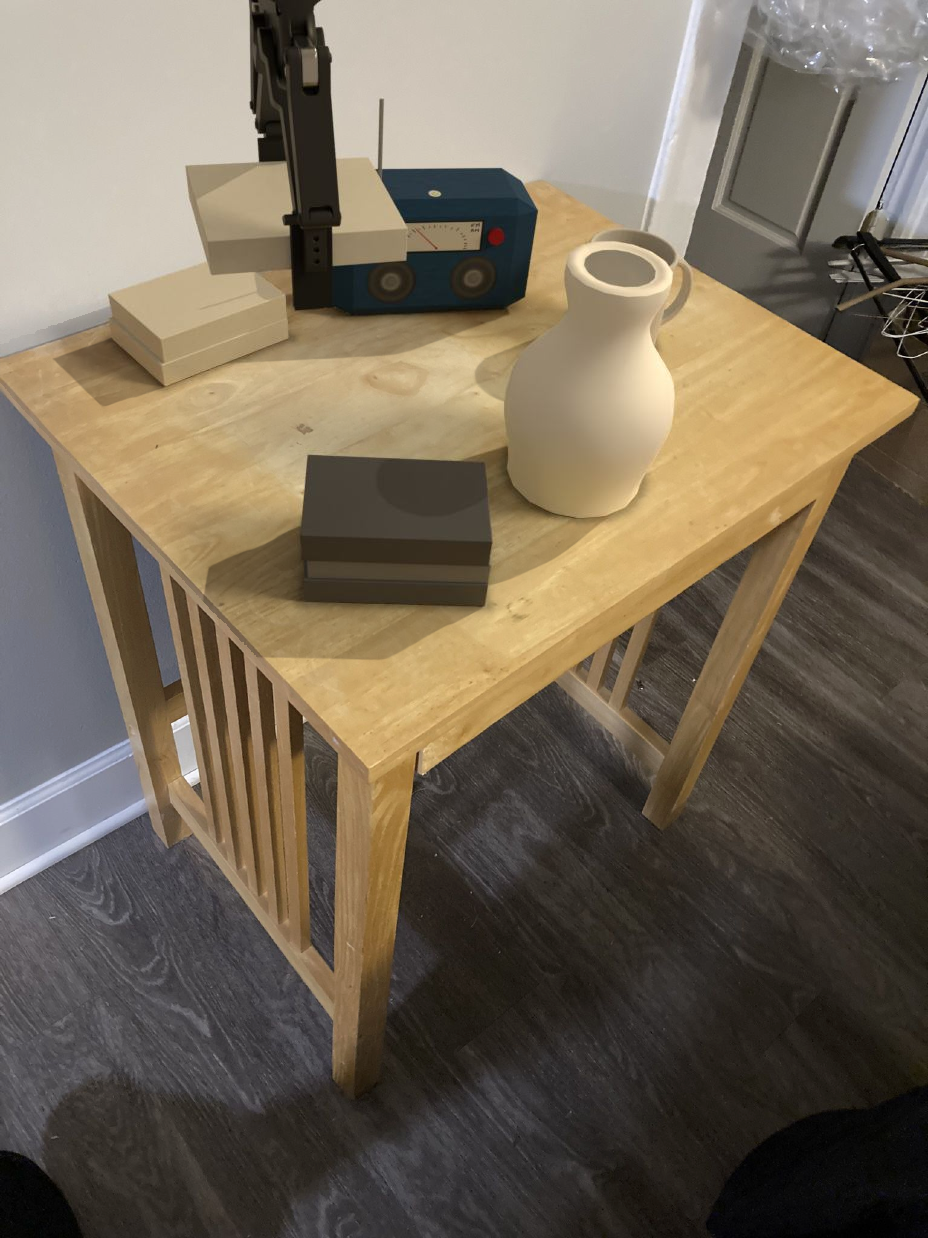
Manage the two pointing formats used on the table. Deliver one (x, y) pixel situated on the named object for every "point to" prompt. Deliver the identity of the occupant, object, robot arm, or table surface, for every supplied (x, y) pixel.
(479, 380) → the table surface
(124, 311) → the beige rectangular block
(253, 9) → the robot arm
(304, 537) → the dark brown box
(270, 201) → the beige flat block
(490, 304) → the radio
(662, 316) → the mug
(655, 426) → the vase
